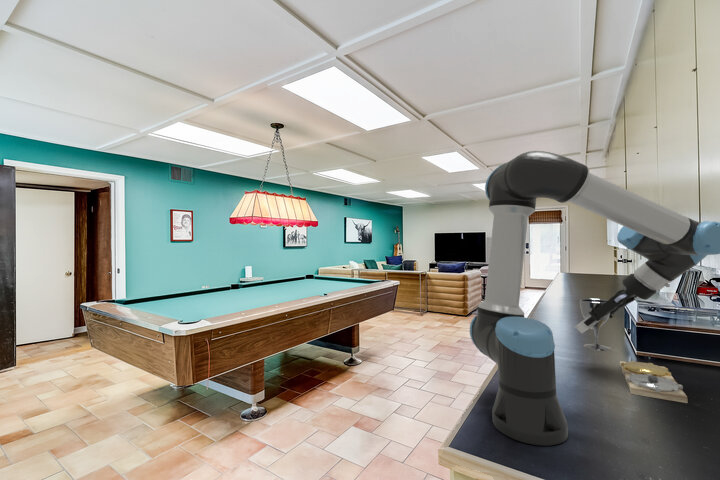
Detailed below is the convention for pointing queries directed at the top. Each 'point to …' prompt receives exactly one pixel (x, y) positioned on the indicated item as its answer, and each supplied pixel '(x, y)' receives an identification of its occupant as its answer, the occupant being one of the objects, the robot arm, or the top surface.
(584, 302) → the wine glass
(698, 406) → the top surface
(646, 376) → the gear board
